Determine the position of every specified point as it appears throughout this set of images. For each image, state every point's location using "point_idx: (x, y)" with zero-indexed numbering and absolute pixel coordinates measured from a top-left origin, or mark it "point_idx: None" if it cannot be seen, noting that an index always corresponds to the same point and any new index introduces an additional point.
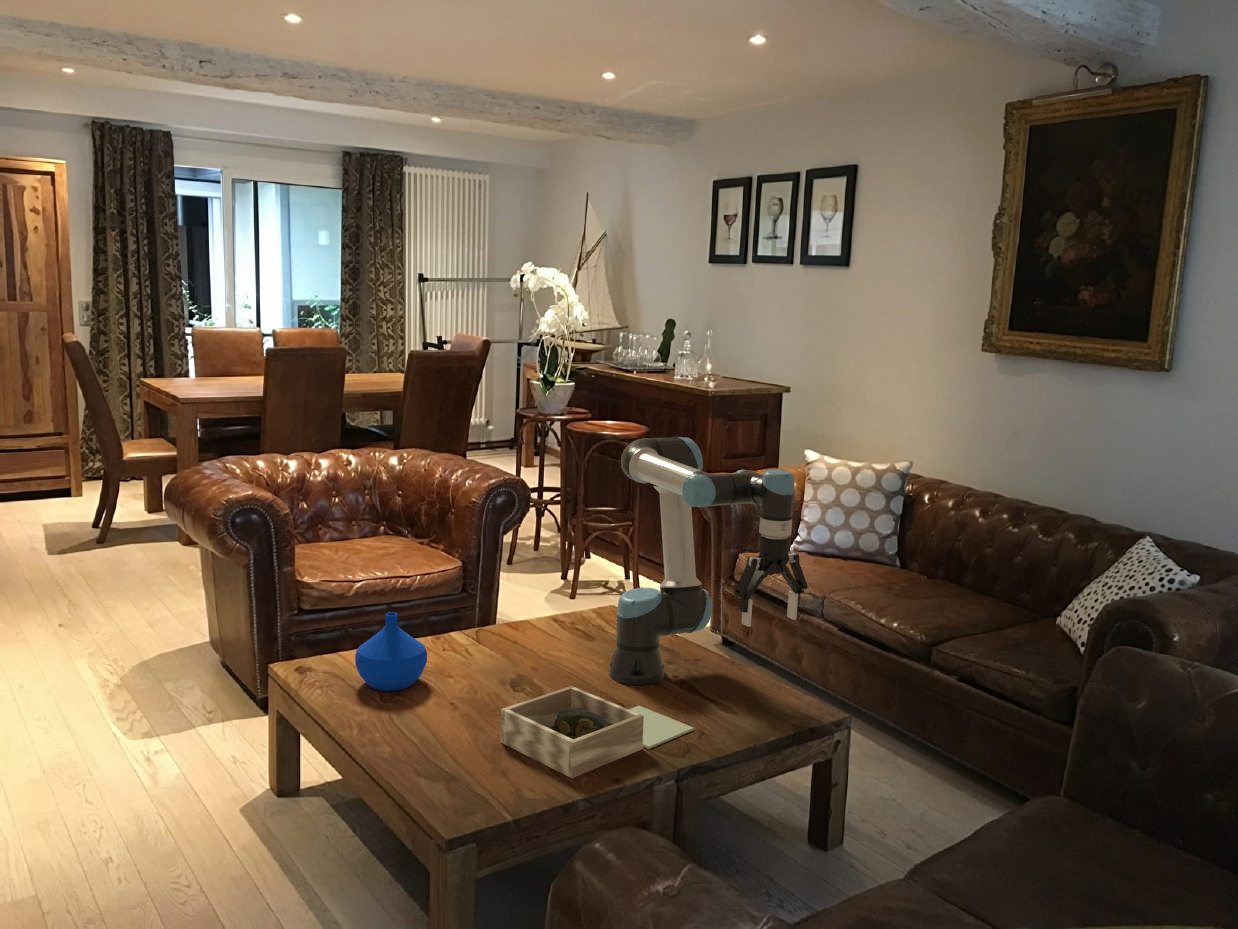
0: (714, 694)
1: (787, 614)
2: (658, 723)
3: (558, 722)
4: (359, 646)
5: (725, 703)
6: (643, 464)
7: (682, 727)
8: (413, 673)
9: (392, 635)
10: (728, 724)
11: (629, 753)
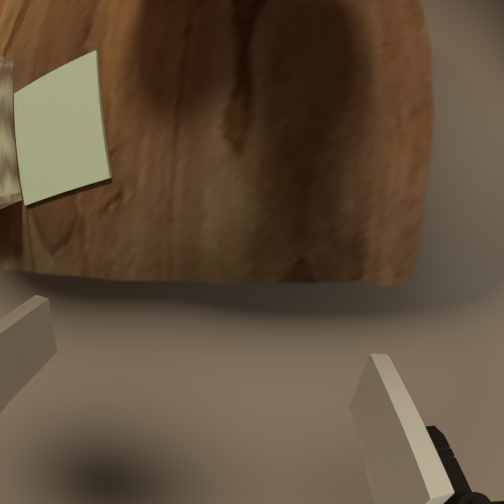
0: (272, 51)
1: (373, 366)
2: (73, 133)
3: None
4: None
5: (257, 99)
6: None
7: (94, 166)
8: None
9: None
10: (185, 188)
11: (5, 206)
